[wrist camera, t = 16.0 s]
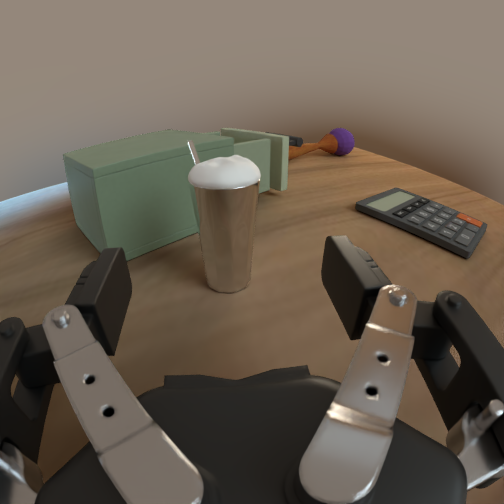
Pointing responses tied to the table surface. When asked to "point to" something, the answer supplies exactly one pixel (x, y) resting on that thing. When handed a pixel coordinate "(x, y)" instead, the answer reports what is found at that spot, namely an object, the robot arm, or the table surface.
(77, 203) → the cabinet
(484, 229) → the calculator
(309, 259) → the table surface
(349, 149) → the kendama
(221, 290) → the milkshake
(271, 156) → the drawer
